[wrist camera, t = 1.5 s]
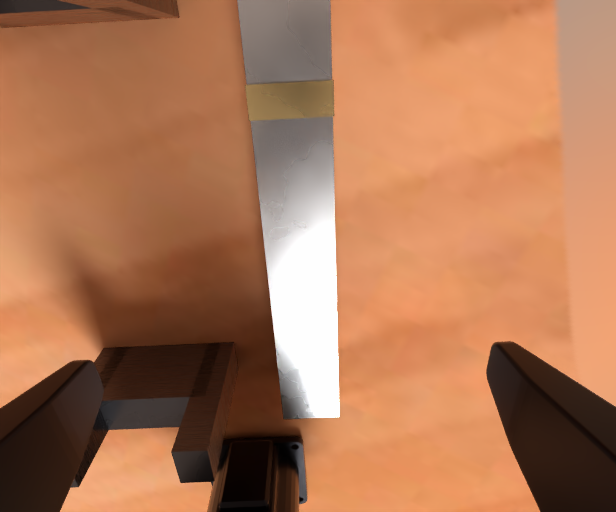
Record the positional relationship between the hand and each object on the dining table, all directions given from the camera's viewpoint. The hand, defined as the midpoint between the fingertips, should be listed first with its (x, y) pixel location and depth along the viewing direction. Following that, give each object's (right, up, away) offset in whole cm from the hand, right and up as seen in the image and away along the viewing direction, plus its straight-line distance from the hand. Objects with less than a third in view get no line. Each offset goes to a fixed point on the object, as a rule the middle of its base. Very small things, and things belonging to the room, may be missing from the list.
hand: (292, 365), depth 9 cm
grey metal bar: (0, +5, +10) cm, 11 cm away
